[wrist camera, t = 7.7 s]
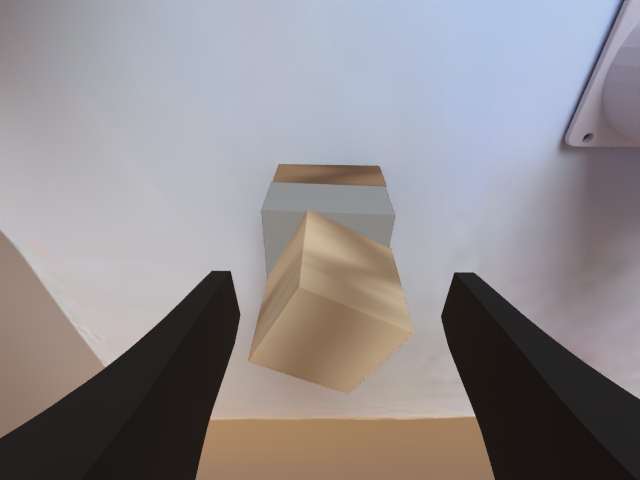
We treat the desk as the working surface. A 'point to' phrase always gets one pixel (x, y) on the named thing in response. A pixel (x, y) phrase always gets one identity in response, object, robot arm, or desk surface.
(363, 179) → the walnut base block
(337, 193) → the slate-grey top block
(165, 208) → the desk surface
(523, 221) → the desk surface
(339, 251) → the birch block
